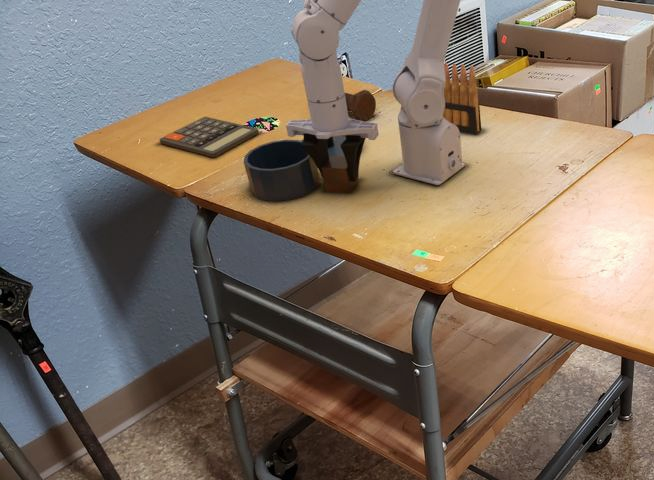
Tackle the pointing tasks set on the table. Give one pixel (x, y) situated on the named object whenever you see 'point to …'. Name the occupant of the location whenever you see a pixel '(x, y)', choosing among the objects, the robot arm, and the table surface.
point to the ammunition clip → (462, 100)
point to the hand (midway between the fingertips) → (340, 178)
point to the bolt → (361, 104)
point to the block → (337, 175)
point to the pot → (280, 170)
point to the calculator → (209, 136)
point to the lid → (335, 146)
